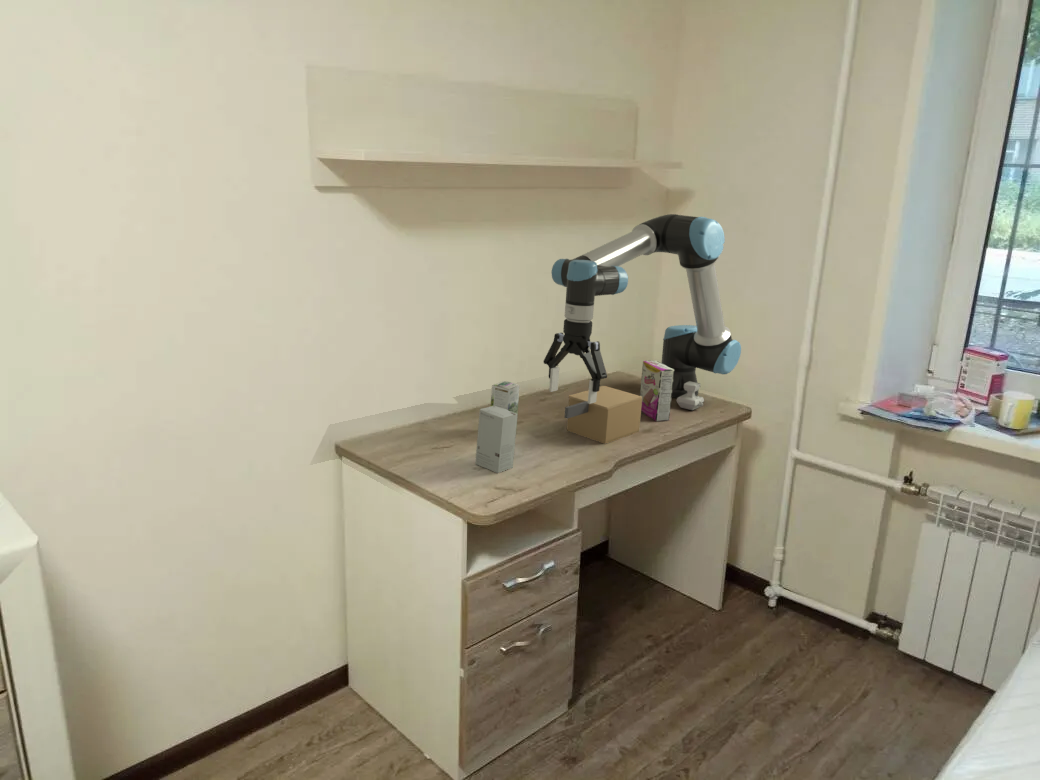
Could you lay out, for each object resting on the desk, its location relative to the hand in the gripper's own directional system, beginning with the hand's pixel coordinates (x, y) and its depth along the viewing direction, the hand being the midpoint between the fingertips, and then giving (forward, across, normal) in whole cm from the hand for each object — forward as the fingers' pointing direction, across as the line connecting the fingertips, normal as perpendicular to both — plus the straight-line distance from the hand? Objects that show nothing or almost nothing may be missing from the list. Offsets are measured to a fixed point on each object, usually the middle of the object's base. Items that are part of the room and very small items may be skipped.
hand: (572, 396), depth 215 cm
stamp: (+13, +4, +55) cm, 57 cm away
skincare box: (+14, -1, -28) cm, 31 cm away
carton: (+13, 0, +15) cm, 20 cm away
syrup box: (+14, -17, -9) cm, 23 cm away
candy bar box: (+13, +1, +39) cm, 42 cm away
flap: (+6, 0, +11) cm, 12 cm away
